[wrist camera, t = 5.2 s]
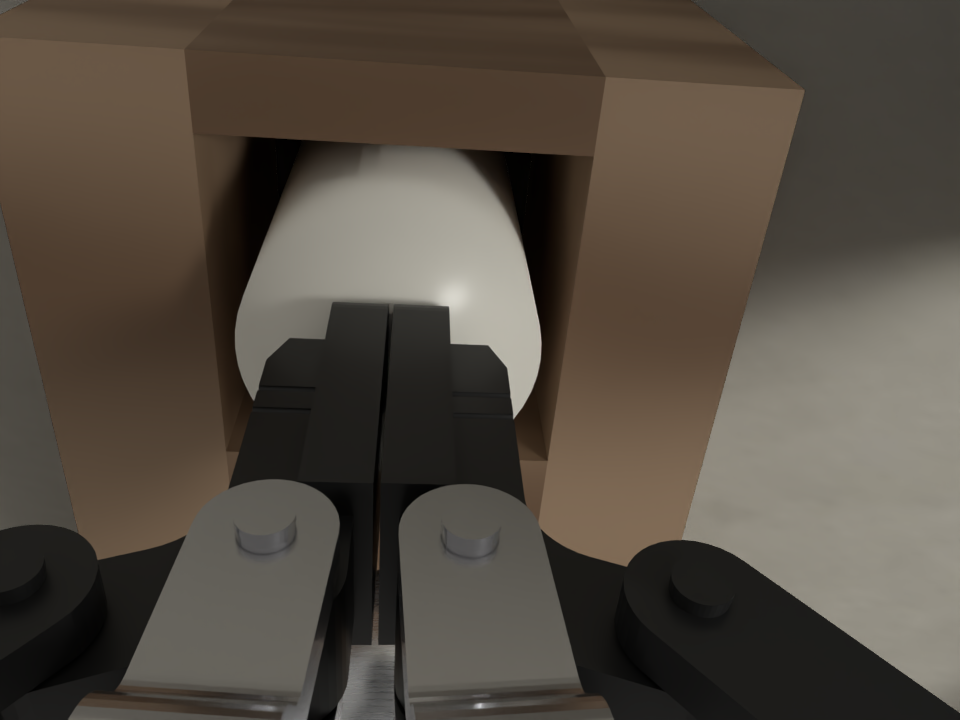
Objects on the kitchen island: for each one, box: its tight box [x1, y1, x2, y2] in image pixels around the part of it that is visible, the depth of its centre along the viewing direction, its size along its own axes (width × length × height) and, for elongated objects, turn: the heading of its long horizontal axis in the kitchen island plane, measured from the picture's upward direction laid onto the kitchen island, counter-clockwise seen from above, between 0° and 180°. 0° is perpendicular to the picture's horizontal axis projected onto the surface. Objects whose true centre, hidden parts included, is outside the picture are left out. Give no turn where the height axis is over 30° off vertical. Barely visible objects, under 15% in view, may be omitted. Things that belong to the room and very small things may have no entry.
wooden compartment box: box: [0, 0, 805, 570], centre depth 19 cm, size 22×10×6 cm, turn 176°
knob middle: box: [341, 570, 395, 720], centre depth 16 cm, size 4×4×6 cm
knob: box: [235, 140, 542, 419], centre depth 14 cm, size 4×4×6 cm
